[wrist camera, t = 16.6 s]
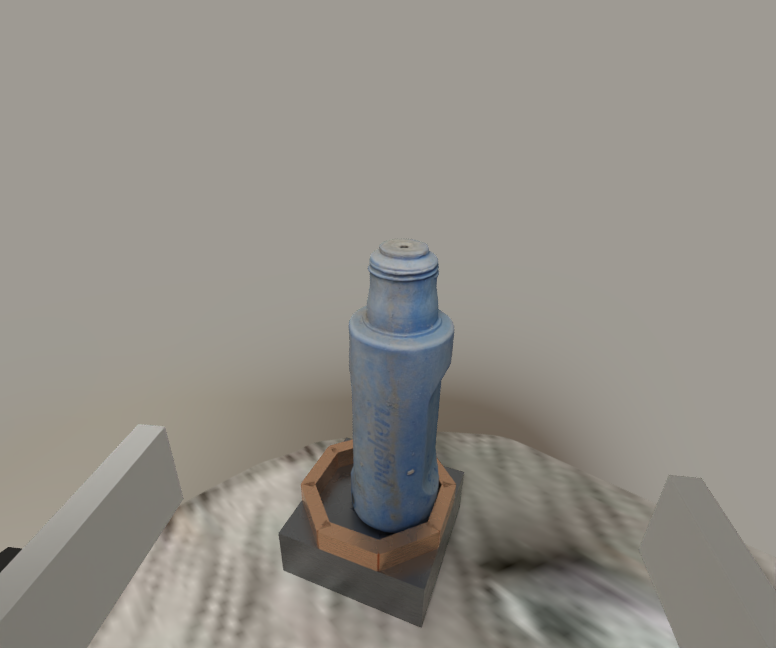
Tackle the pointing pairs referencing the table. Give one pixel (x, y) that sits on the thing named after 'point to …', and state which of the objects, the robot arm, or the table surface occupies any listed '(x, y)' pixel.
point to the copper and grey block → (367, 541)
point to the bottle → (398, 387)
